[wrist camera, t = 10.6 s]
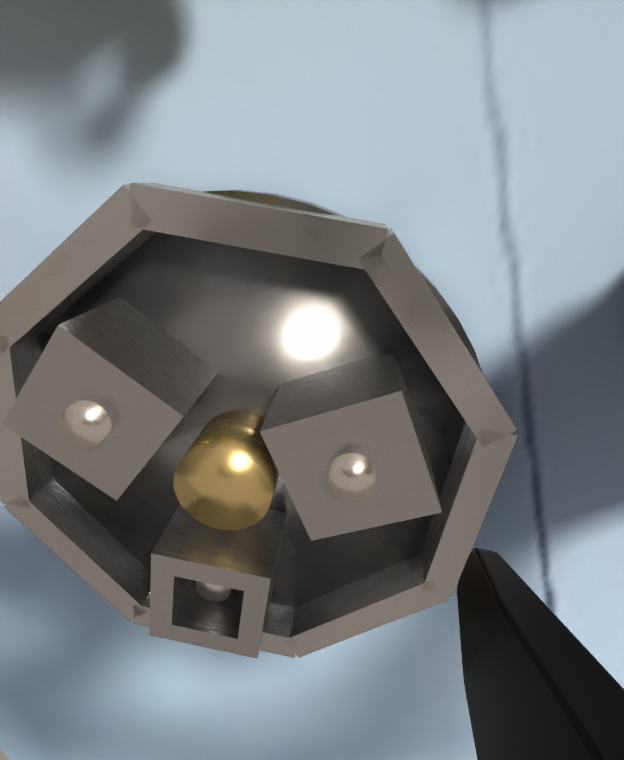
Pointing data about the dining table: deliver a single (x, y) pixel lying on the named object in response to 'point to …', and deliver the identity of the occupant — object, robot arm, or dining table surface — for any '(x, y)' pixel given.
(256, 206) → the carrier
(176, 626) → the square pipe segment
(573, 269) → the dining table surface
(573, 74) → the dining table surface
